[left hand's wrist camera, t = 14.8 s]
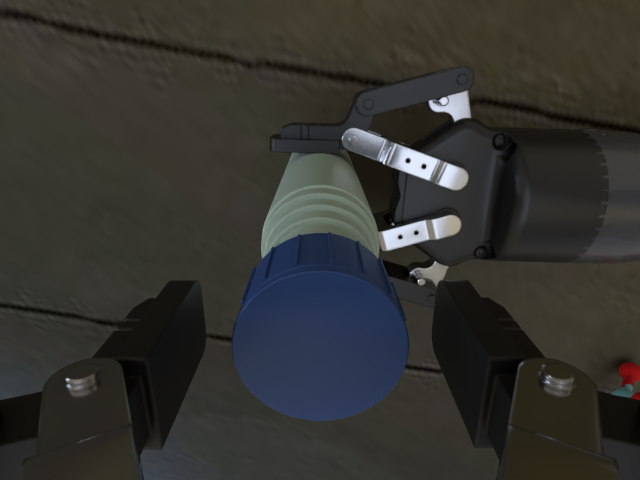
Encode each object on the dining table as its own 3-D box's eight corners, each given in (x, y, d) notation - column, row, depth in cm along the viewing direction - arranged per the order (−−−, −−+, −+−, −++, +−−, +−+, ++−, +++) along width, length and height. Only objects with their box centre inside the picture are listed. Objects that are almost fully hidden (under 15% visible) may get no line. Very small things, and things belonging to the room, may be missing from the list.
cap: (414, 326, 12) (437, 383, 10) (290, 378, 13) (284, 444, 11) (354, 205, 11) (364, 238, 9) (220, 269, 12) (195, 317, 9)
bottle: (304, 206, 32) (277, 434, 11) (278, 151, 30) (191, 296, 10) (360, 182, 31) (439, 378, 10) (336, 125, 30) (373, 221, 9)
